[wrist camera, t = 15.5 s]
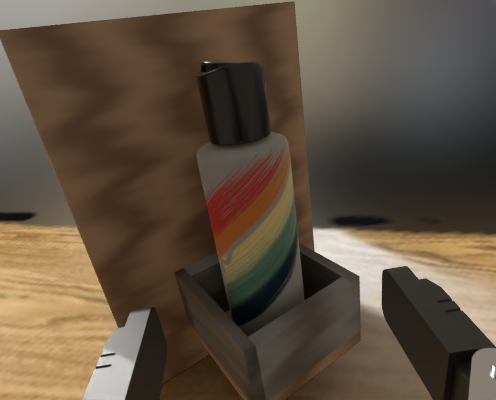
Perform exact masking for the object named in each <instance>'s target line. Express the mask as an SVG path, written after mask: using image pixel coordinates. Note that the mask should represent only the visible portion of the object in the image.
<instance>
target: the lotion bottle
mask: <svg viewBox="0 0 496 400" xmlns="http://www.w3.org/2000/svg"><path fill="white" fill-rule="evenodd" d="M196 78H197V83H198V88H199V93H200V98H201V102H202V107H203V112H204V117H205V122H206V126H207V131H208V136H209V140H210V142H209V143H207V144H205V145H203V146H202V147H201V148H199V150H198V152H197V161H198V167H199V172H200V176H201V181H202V186H203V190H204V195H205V199H206V204H207V208H208V213H209V217H210V222H211V227H212V231H213V236H214V240H215V245H216V249H217V254H218V258H219V263H220V267H221V272H222V276H223V281H224V286H225V290H226V295H227V299H228V304H229V308H230V313H231V317H232V320H233V322H234V323H235V324H236V325H237V326H238V327H239V328H240V329H241V330H242V331H243V332H244V333H245V334H246V335H247V337H249V336H250V335H252V334H253V333H255V332H256V331H258V330H259V329H261V328H263V327H264V326H266V325H267V324H269V323H270V322H272V321H274V320H275V319H277V318H278V317H280V316H281V315H283V314H284V313H286V312H288V311H289V310H291V309H292V308H294V307H295V306H297V305H299V304H300V303H302V302H303V301H305V299H304V289H303V279H302V269H301V259H300V249H299V239H298V229H297V219H296V209H295V199H294V190H293V180H292V170H291V160H290V152H289V144H288V140H287V138H286V137H285V136H284V135H282V134H279V133H274V132H271V125H270V117H269V108H268V99H267V91H266V82H265V73H264V66H263V64H262V63H259V62H244V63H233V62H207V61H205V62H201V71H200V72H199V73H198V74H197V75H196Z"/></svg>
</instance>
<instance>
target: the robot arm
mask: <svg viewBox="0 0 496 400" xmlns="http://www.w3.org/2000/svg"><path fill="white" fill-rule="evenodd" d="M382 309H383V313H384V317H385V319H386V321H387V323H388V325H389V327H390V328H391V330H392V332H393V333H394V335H395V337H396V338H397V340H398V342H399V343H400V345H401V347H402V348H403V350H404V352H405V353H406V355H407V357H408V358H409V360H410V362H411V363H412V365H413V367H414V368H415V370H416V372H417V373H418V375H419V377H420V378H421V380H422V382H423V383H424V385H425V387H426V388H427V390H428V392H429V393H430V395H431V397H432V398H433V400H496V347H495V346H494V345H493V343H492V342H491V341H490V340H489V339H488V338H487V337H486V336H485V335H484V334H483V333H482V331H481V330H480V329H479V328H478V327H477V326H476V325H475V324H474V323H473V322H472V321H471V319H470V318H469V317H468V316H467V315H466V314H465V313H464V312H463V311H461V310H460V307H459V306H458V305H457V304H456V303H455V302H454V301H452V299H451V298H450V297H449V295H448V294H447V293H446V292H445V291H444V290H443V289H442V288H441V287H440V286H438V285H436V284H435V283H433V282H431V281H429V280H428V279H418V278H417V277H416V276H415V275H414V273H413V272H412V271H411V270H410V269H409V268H408V267H407V266H403V267H397V268H391V269H385V270H383V273H382ZM166 360H167V342H166V338H165V335H164V332H163V329H162V326H161V323H160V320H159V317H158V314H157V311H156V309H155V308H154V307H148V308H142V309H136V310H132V311H131V312H130V314H129V317H128V319H127V322H126V325H125V327H121V328H117V329H116V330H115V331H114V332H113V334H112V335H111V336H110V337H109V338H108V340H107V341H106V343H105V345H104V348H103V350H102V353H101V358H99V360H98V363H97V365H96V370H94V372H93V375H92V377H91V380H90V382H89V385H88V387H87V390H86V392H85V395H84V397H83V399H82V400H159V397H160V392H161V387H162V381H163V376H164V371H165V365H166Z"/></svg>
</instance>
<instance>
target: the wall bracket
mask: <svg viewBox="0 0 496 400" xmlns="http://www.w3.org/2000/svg"><path fill="white" fill-rule="evenodd" d="M0 40H1V42H2V45H3V47H4V50H5V52H6V55H7V57H8V59H9V62H10V64H11V67H12V69H13V71H14V74H15V76H16V79H17V81H18V84H19V86H20V89H21V91H22V93H23V96H24V98H25V101H26V103H27V106H28V108H29V111H30V113H31V116H32V118H33V121H34V123H35V125H36V128H37V130H38V133H39V135H40V137H41V140H42V142H43V145H44V147H45V150H46V152H47V155H48V157H49V160H50V162H51V165H52V167H53V169H54V172H55V174H56V177H57V179H58V182H59V184H60V186H61V189H62V191H63V194H64V196H65V199H66V201H67V203H68V206H69V208H70V211H71V213H72V216H73V218H74V221H75V223H76V226H77V228H78V231H79V233H80V235H81V238H82V240H83V243H84V245H85V248H86V250H87V253H88V255H89V257H90V260H91V262H92V265H93V267H94V270H95V272H96V275H97V277H98V279H99V282H100V284H101V287H102V289H103V292H104V294H105V297H106V299H107V301H108V304H109V306H110V309H111V311H112V314H113V316H114V319H115V321H116V324H117V326H118V328H121V327H125V325H126V322H127V319H128V317H129V314H130V312H131V311H132V310H136V309H142V308H148V307H154V308H155V309H156V311H157V314H158V317H159V320H160V323H161V326H162V329H163V332H164V335H165V338H166V342H167V360H166V365H165V371H164V376H163V381H162V384H163V383H165V382H167V381H168V380H170V379H171V378H173V377H174V376H176V375H178V374H179V373H181V372H182V371H184V370H186V369H187V368H189V367H190V366H192V365H194V364H195V363H197V362H198V361H200V360H202V359H203V358H205V357H206V356H208V355H209V354H210V355H211V357H212V358H213V359H214V361H215V362H216V363H217V365H218V366H219V368H220V369H221V370H222V372H223V373H224V374H225V376H226V377H227V379H228V380H229V381H230V383H231V384H232V385H233V387H234V388H235V389H236V391H237V392H238V394H239V395H240V396H241V398H242V399H243V400H285V399H287V398H288V397H289V396H290V395H292V394H293V393H294V392H296V391H297V390H298V389H299V388H301V387H302V386H303V385H304V384H306V383H307V382H308V381H309V380H311V379H312V378H313V377H314V376H316V375H317V374H318V373H320V372H321V371H322V370H323V369H325V368H326V367H327V366H328V365H330V364H331V363H332V362H333V361H335V360H336V359H337V358H339V357H340V356H341V355H342V354H344V353H345V352H346V351H347V350H349V349H350V348H351V347H352V346H354V345H355V344H356V343H357V342H359V341H360V281H359V276H358V275H356V274H354V273H352V272H350V271H349V270H347V269H345V268H343V267H341V266H340V265H338V264H336V263H334V262H332V261H331V260H329V259H327V258H325V257H323V256H322V255H320V254H318V253H316V252H314V240H313V227H312V215H311V203H310V190H309V178H308V165H307V154H306V153H307V152H306V140H305V129H304V115H303V103H302V90H301V78H300V65H299V54H298V41H297V28H296V15H295V3H294V2H284V3H274V4H265V5H264V4H263V5H253V6H243V7H233V8H223V9H213V10H203V11H193V12H183V13H172V14H163V15H152V16H143V17H132V18H122V19H112V20H102V21H91V22H82V23H71V24H61V25H51V26H41V27H30V28H20V29H10V30H0ZM205 61H207V62H233V63H244V62H259V63H262V64H263V66H264V73H265V82H266V91H267V99H268V108H269V117H270V125H271V132H274V133H279V134H282V135H284V136H285V137H286V138H287V140H288V144H289V152H290V160H291V170H292V180H293V190H294V199H295V209H296V219H297V229H298V239H299V249H300V259H301V269H302V279H303V289H304V299H305V301H303V302H302V303H300V304H299V305H297V306H295V307H294V308H292V309H291V310H289V311H288V312H286V313H284V314H283V315H281V316H280V317H278V318H277V319H275V320H274V321H272V322H270V323H269V324H267V325H266V326H264V327H263V328H261V329H259V330H258V331H256V332H255V333H253V334H252V335H250V336H249V337H247V335H246V334H245V333H244V332H243V331H242V330H241V329H240V328H239V327H238V326H237V325H236V324H235V323H234V322H233V320H232V317H231V313H230V308H229V304H228V299H227V295H226V290H225V286H224V281H223V276H222V272H221V267H220V263H219V258H218V254H217V249H216V245H215V240H214V236H213V231H212V227H211V222H210V217H209V213H208V208H207V204H206V199H205V195H204V190H203V186H202V181H201V176H200V172H199V167H198V161H197V152H198V150H199V148H201V147H202V146H203V145H205V144H207V143H209V142H210V140H209V136H208V131H207V126H206V122H205V117H204V112H203V107H202V102H201V98H200V93H199V88H198V83H197V78H196V75H197V74H198V73H199V72H200V71H201V62H205Z"/></svg>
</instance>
